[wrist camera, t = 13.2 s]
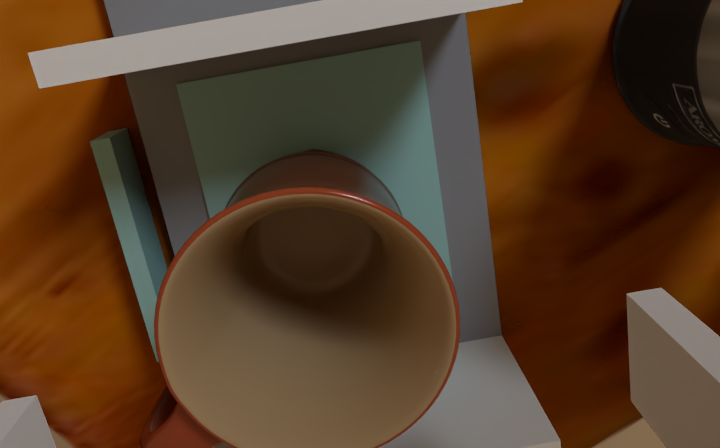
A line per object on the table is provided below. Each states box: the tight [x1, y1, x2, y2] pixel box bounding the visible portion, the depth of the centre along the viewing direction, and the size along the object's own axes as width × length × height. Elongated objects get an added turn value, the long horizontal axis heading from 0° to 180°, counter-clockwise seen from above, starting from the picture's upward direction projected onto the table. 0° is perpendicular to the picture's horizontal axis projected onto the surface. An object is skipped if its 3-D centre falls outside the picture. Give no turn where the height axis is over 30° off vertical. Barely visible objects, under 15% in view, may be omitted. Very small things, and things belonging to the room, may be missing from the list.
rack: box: [28, 0, 561, 448], centre depth 23 cm, size 16×33×9 cm, turn 10°
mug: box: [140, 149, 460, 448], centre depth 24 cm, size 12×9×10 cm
